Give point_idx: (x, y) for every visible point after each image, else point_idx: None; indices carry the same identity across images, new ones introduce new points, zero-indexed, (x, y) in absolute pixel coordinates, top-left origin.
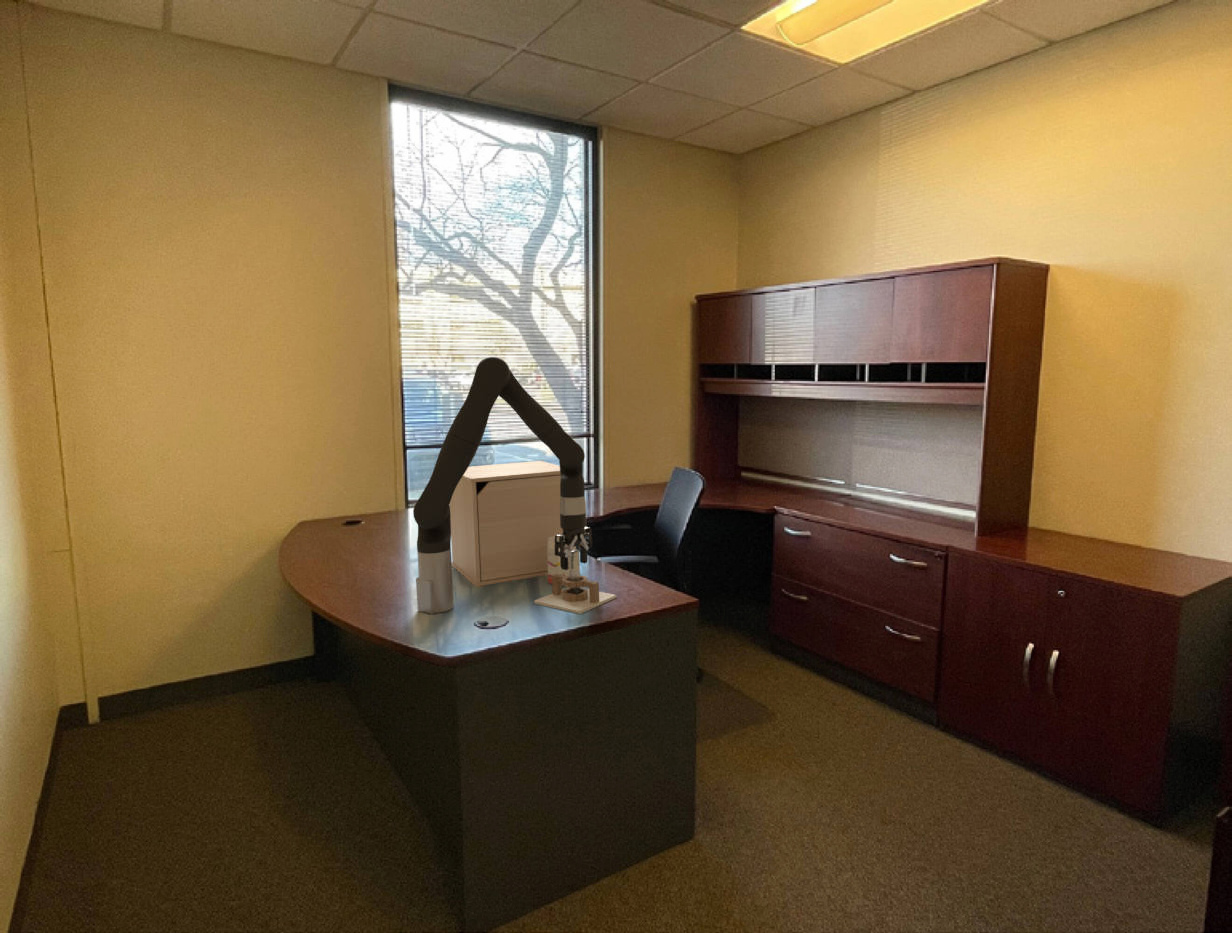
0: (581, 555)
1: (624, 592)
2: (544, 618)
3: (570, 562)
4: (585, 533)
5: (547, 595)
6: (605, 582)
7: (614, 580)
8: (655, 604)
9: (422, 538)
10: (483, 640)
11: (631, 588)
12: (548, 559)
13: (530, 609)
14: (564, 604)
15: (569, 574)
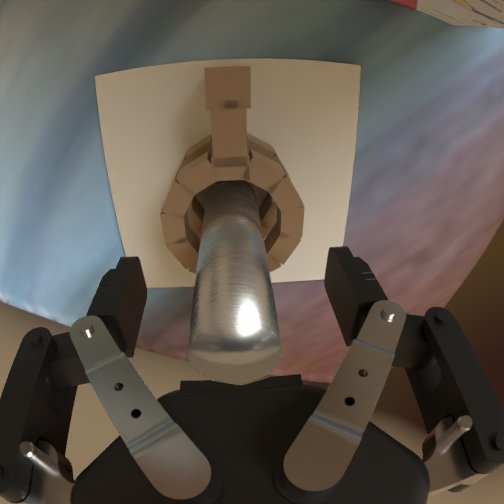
0: (343, 288)
1: (392, 259)
2: (39, 228)
3: (194, 290)
4: (423, 455)
5: (180, 63)
6: (464, 145)
7: (486, 162)
8: (325, 362)
9: None
10: None
11: (431, 252)
12: None
13: (49, 124)
14: (141, 207)
15: (439, 10)
